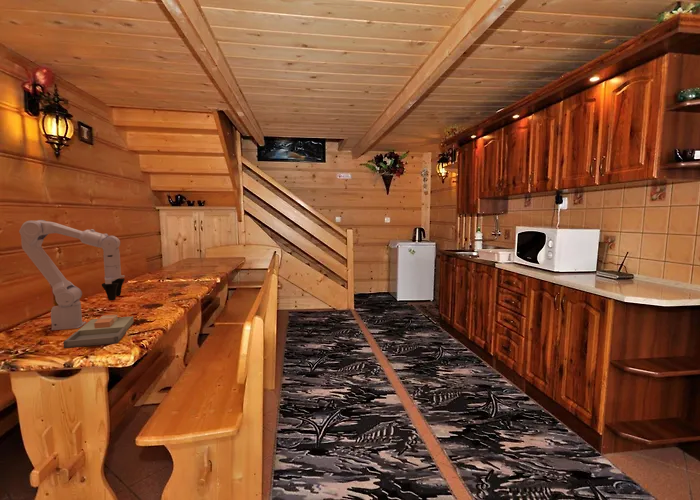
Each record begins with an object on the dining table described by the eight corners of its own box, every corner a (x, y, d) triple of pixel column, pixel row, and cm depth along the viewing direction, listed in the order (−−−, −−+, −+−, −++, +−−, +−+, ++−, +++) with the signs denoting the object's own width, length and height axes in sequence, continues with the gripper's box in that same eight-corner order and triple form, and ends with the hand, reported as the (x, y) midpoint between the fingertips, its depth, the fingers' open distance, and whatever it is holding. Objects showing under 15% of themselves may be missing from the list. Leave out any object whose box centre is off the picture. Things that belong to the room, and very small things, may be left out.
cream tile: (99, 324, 146) (98, 319, 145) (103, 320, 150) (103, 315, 150) (114, 322, 147) (113, 317, 147) (117, 319, 152) (117, 314, 152)
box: (63, 348, 127) (63, 341, 127) (76, 337, 137) (75, 331, 137) (117, 343, 132) (117, 336, 132) (125, 333, 142) (125, 327, 142)
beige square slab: (77, 337, 138) (77, 330, 137) (91, 325, 152) (91, 319, 152) (124, 333, 142) (123, 326, 142) (133, 322, 156) (133, 316, 156)
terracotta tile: (94, 328, 140) (94, 323, 140) (98, 324, 145) (98, 319, 145) (109, 327, 142) (109, 321, 142) (113, 323, 147) (113, 318, 146)
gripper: (118, 267, 148) (121, 301, 149) (127, 262, 162) (129, 293, 163) (98, 268, 146) (100, 302, 147) (109, 263, 160) (111, 294, 161)
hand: (114, 298), depth 155 cm, fingers open, 7 cm apart
